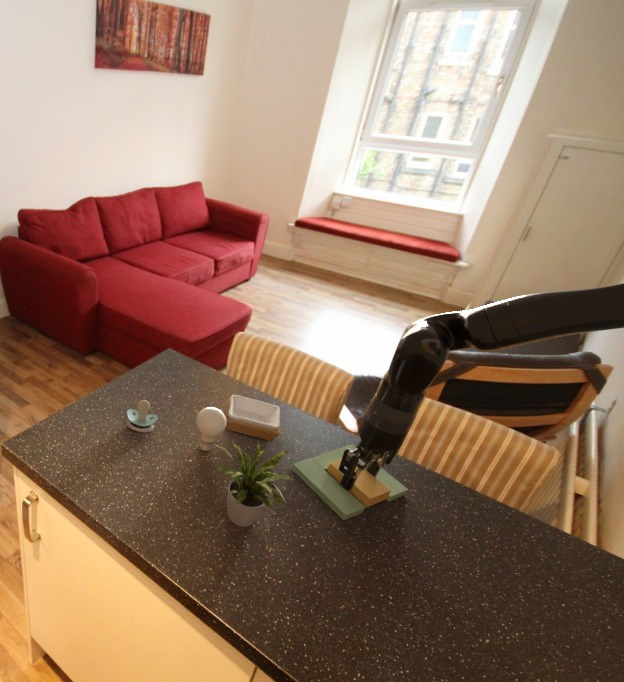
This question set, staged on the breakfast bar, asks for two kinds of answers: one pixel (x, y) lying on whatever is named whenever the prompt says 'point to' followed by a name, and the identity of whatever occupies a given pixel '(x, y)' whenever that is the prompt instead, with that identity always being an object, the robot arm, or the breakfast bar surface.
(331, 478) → the green u-shaped block
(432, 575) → the breakfast bar surface
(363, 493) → the ochre pad
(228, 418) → the soap dish
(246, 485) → the house plant
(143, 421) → the pacifier
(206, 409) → the lightbulb
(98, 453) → the breakfast bar surface
